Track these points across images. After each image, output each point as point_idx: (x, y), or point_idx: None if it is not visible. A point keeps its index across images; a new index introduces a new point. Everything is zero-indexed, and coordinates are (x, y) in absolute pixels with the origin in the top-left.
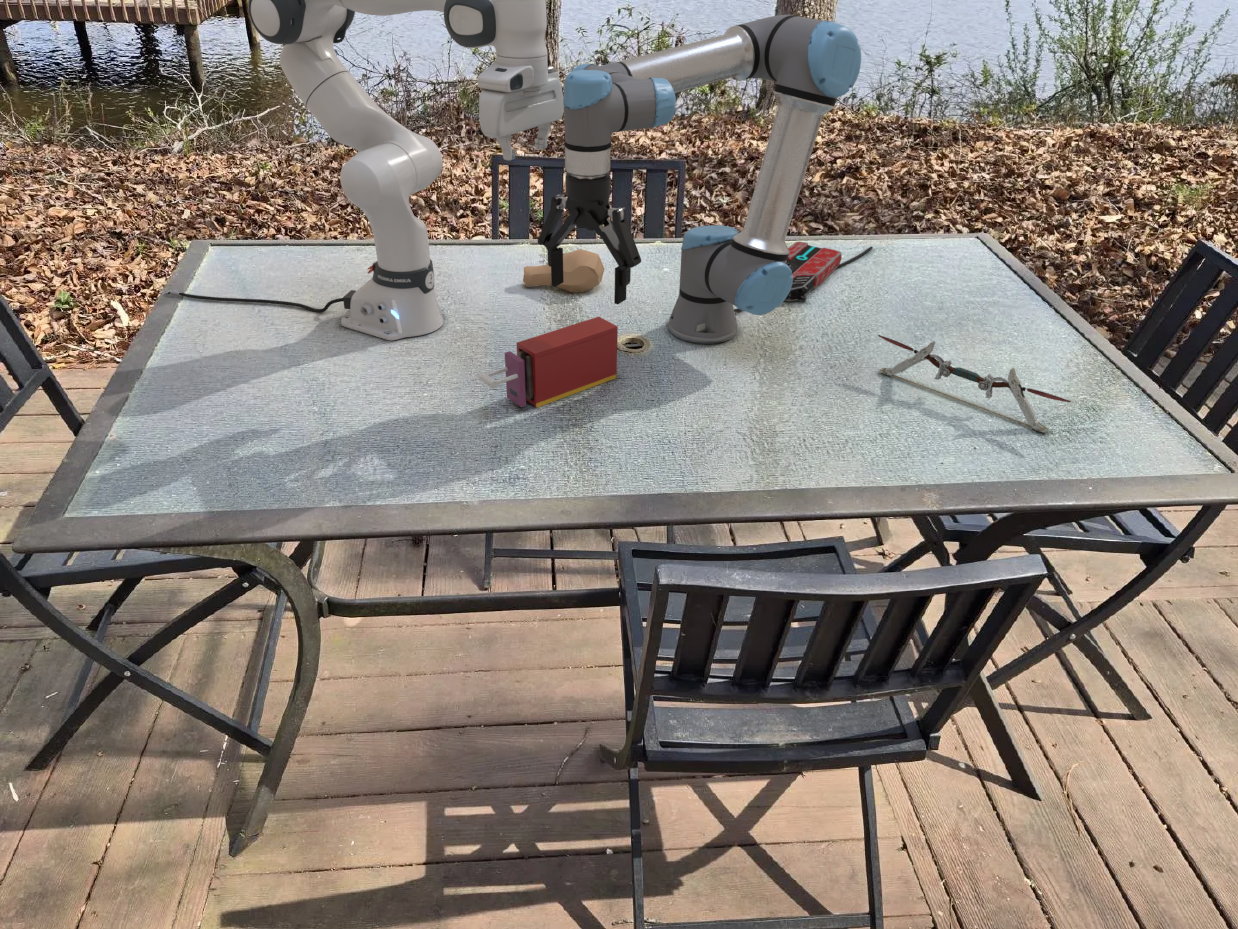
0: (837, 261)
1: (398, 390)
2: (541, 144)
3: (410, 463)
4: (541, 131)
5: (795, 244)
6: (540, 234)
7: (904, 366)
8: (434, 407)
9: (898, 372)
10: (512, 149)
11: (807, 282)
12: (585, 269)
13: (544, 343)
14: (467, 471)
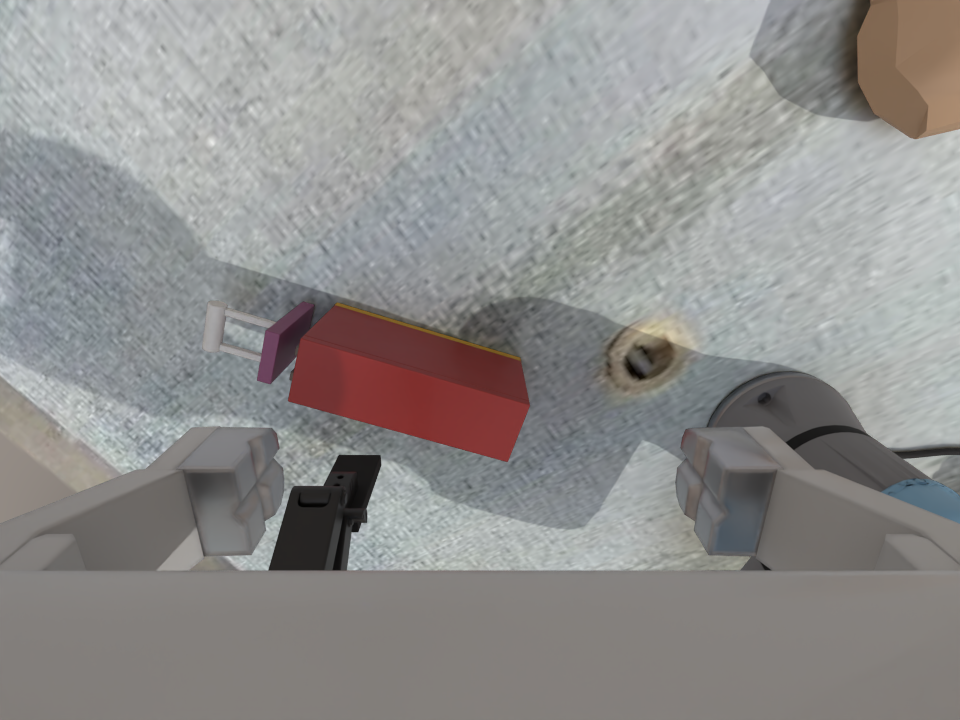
0: None
1: (179, 74)
2: (694, 515)
3: (48, 296)
4: (849, 547)
5: None
6: (284, 518)
7: None
8: (192, 197)
9: None
10: (220, 544)
11: None
12: (915, 106)
13: (339, 389)
14: (109, 383)
